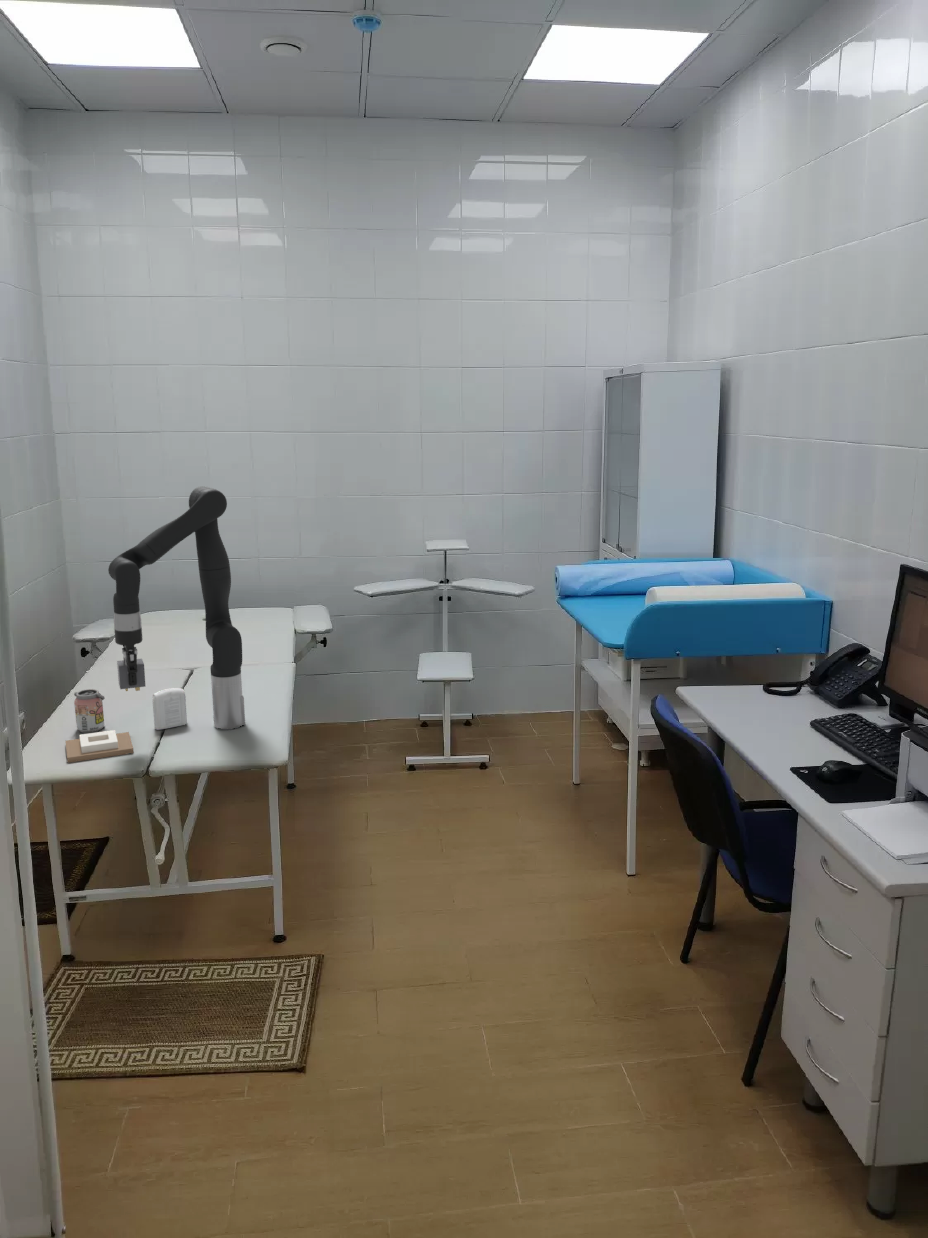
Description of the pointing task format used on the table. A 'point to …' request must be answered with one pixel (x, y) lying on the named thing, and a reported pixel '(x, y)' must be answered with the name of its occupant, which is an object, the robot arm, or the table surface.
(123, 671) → the plug
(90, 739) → the socket
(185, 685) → the table surface
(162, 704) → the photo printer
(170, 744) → the table surface
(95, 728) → the beverage can
